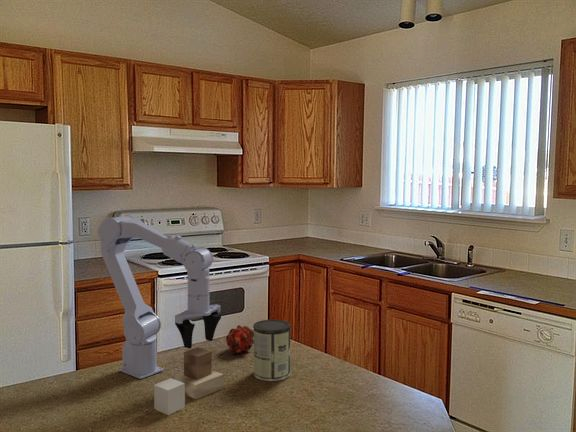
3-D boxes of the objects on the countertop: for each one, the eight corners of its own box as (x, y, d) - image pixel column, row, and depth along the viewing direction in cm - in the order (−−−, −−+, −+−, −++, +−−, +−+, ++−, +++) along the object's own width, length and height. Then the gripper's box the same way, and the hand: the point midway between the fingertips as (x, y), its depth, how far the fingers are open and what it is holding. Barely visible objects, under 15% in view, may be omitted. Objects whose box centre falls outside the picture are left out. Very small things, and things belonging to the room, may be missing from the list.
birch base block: (174, 390, 133) (173, 375, 133) (201, 379, 140) (201, 365, 140) (195, 400, 127) (195, 385, 127) (223, 389, 134) (223, 374, 134)
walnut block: (183, 375, 133) (183, 352, 133) (198, 369, 137) (198, 347, 137) (197, 379, 130) (197, 356, 130) (211, 374, 134) (211, 351, 134)
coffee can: (264, 364, 150) (265, 317, 149) (296, 371, 146) (297, 322, 144) (246, 377, 141) (246, 326, 140) (279, 384, 137) (279, 332, 135)
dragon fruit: (248, 349, 168) (237, 367, 157) (227, 333, 168) (215, 350, 157) (263, 330, 165) (252, 348, 154) (241, 314, 166) (229, 331, 154)
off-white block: (154, 409, 122) (154, 384, 121) (171, 401, 126) (170, 378, 125) (168, 415, 119) (168, 390, 118) (184, 407, 123) (184, 383, 122)
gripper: (187, 301, 129) (187, 354, 130) (228, 291, 141) (228, 340, 142) (169, 297, 134) (169, 348, 135) (210, 287, 145) (210, 334, 146)
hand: (198, 343), depth 139 cm, fingers open, 7 cm apart
